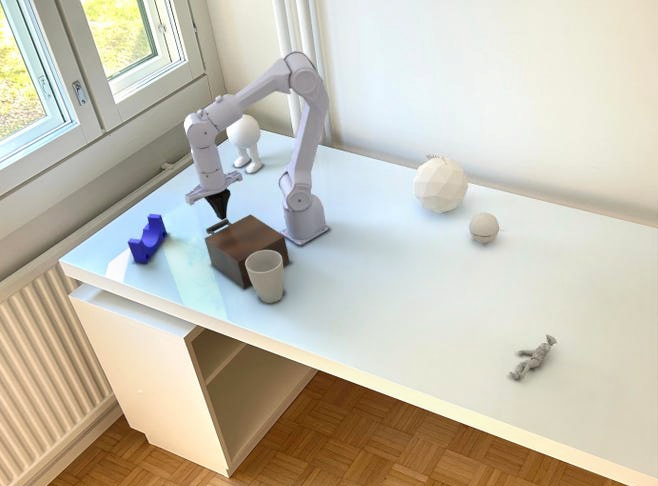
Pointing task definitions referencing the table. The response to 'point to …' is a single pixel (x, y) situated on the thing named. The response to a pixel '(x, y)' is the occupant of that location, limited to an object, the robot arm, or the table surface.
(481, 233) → the grey rounded domed piece
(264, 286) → the cup
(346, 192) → the table surface
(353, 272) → the table surface
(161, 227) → the cable clip
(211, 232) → the drawer
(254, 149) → the toy character
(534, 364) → the soldier figure
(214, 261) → the cabinet
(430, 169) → the geodesic sphere
